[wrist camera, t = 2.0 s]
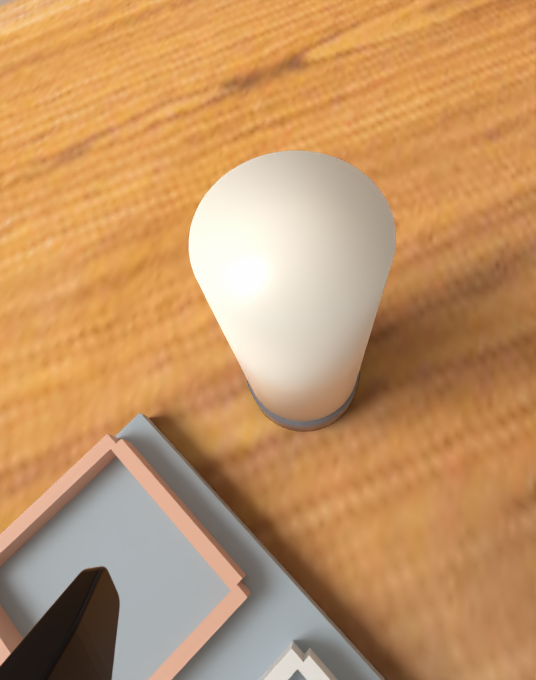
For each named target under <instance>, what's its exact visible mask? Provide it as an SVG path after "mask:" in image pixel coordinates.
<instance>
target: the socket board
mask: <svg viewBox="0 0 536 680" xmlns="http://www.w3.org/2000/svg"><path fill="white" fill-rule="evenodd" d="M99 566H104V567H106V568H107V569H108V571H109V573H110V576H111V578H112V580H113V583H114V585H115V587H116V590H117V592H118V595H119V599H120V610H119V619H118V628H117V637H116V646H115V655H114V664H113V673H112V680H385V679H384V677H383V676H382V675H381V674H380V673H379V672H378V671H377V670H376V669H375V667H374V666H373V665H372V664H371V663H370V662H369V661H368V660H367V659H366V658H365V656H364V655H363V654H362V653H361V652H360V651H359V650H358V649H357V648H356V646H355V645H354V644H353V643H352V642H351V641H350V640H349V639H348V638H347V637H346V635H345V634H344V633H343V632H342V631H341V630H340V629H339V628H338V627H337V625H336V624H335V623H334V622H333V621H332V620H331V619H330V618H329V617H328V616H327V614H326V613H325V612H324V611H323V610H322V609H321V608H320V607H319V606H318V604H317V603H316V602H315V601H314V600H313V599H312V598H311V597H310V596H309V595H308V593H307V592H306V591H305V590H304V589H303V588H302V587H301V586H300V585H299V583H298V582H297V581H296V580H295V579H294V578H293V577H292V576H291V575H290V574H289V572H288V571H287V570H286V569H285V568H284V567H283V566H282V565H281V564H280V562H279V561H278V560H277V559H276V558H275V557H274V556H273V555H272V554H271V553H270V551H269V550H268V549H267V548H266V547H265V546H264V545H263V544H262V543H261V541H260V540H259V539H258V538H257V537H256V536H255V535H254V534H253V533H252V532H251V530H250V529H249V528H248V527H247V526H246V525H245V524H244V523H243V522H242V520H241V519H240V518H239V517H238V516H237V515H236V514H235V513H234V512H233V511H232V509H231V508H230V507H229V506H228V505H227V504H226V503H225V502H224V501H223V499H222V498H221V497H220V496H219V495H218V494H217V493H216V492H215V491H214V490H213V488H212V487H211V486H210V485H209V484H208V483H207V482H206V481H205V480H204V478H203V477H202V476H201V475H200V474H199V473H198V472H197V471H196V470H195V469H194V467H193V466H192V465H191V464H190V463H189V462H188V461H187V460H186V459H185V457H184V456H183V455H182V454H181V453H180V452H179V451H178V450H177V449H176V448H175V446H174V445H173V444H172V443H171V442H170V441H169V440H168V439H167V438H166V436H165V435H164V434H163V433H162V432H161V431H160V430H159V429H158V428H157V427H156V425H155V424H154V423H153V422H152V421H151V420H150V419H149V418H148V417H147V416H145V415H143V414H141V413H139V414H138V415H137V416H136V417H135V418H134V419H133V420H132V421H131V422H130V423H129V424H127V425H126V426H125V427H124V428H123V429H122V430H121V431H120V432H119V433H118V434H117V435H116V436H115V437H114V436H112V435H109V434H107V435H105V436H104V437H103V438H102V439H101V440H100V441H99V442H98V443H97V444H96V445H95V446H94V447H93V448H92V449H91V450H90V451H88V452H87V453H86V454H85V455H84V456H83V457H82V458H81V459H80V460H79V461H78V462H77V463H76V464H75V465H74V466H72V467H71V468H70V469H69V470H68V471H67V472H66V473H65V474H64V475H63V476H62V477H61V478H60V479H59V480H58V481H56V482H55V483H54V484H53V485H52V486H51V487H50V488H49V489H48V490H47V491H46V492H45V493H44V494H43V495H42V496H41V497H39V498H38V499H37V500H36V501H35V502H34V503H33V504H32V505H31V506H30V507H29V508H28V509H27V510H26V511H25V512H23V513H22V514H21V515H20V516H19V517H18V518H17V519H16V520H15V521H14V522H13V523H12V524H11V525H10V526H9V527H8V528H6V529H5V530H4V531H3V532H2V533H1V534H0V665H1V664H2V663H3V662H4V661H5V660H6V658H7V657H8V656H9V655H10V654H11V653H12V651H13V650H14V649H15V648H16V647H17V646H18V644H19V643H20V642H21V641H22V640H23V639H24V637H25V636H26V635H27V634H28V633H29V631H30V630H31V629H32V628H33V627H34V626H35V624H36V623H37V622H38V621H39V620H40V619H41V617H42V616H43V615H44V614H45V613H46V612H47V610H48V609H49V608H50V607H51V606H52V605H53V603H54V602H55V601H56V600H57V599H58V598H59V596H60V595H61V594H62V593H63V592H64V591H65V589H66V588H67V587H68V586H69V585H70V584H71V582H72V581H73V580H74V579H75V578H76V577H77V575H78V574H79V573H80V572H81V571H83V570H84V569H87V568H93V567H99Z"/></svg>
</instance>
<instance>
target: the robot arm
mask: <svg viewBox="0 0 536 680" xmlns="http://www.w3.org/2000/svg"><path fill="white" fill-rule="evenodd" d="M119 610H120V599H119V595H118V592H117V590H116V587H115V585H114V583H113V580H112V578H111V576H110V573H109V571H108V569H107V568H106V567H104V566H99V567H93V568H87V569H84V570H83V571H81V572H80V573H79V574H78V575H77V577H76V578H75V579H74V580H73V581H72V582H71V584H70V585H69V586H68V587H67V588H66V589H65V591H64V592H63V593H62V594H61V595H60V596H59V598H58V599H57V600H56V601H55V602H54V603H53V605H52V606H51V607H50V608H49V609H48V610H47V612H46V613H45V614H44V615H43V616H42V617H41V619H40V620H39V621H38V622H37V623H36V624H35V626H34V627H33V628H32V629H31V630H30V631H29V633H28V634H27V635H26V636H25V637H24V639H23V640H22V641H21V642H20V643H19V644H18V646H17V647H16V648H15V649H14V650H13V651H12V653H11V654H10V655H9V656H8V657H7V658H6V660H5V661H4V662H3V663H2V664H1V665H0V680H112V673H113V664H114V655H115V646H116V637H117V628H118V619H119Z"/></svg>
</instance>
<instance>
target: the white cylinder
mask: <svg viewBox="0 0 536 680" xmlns="http://www.w3.org/2000/svg"><path fill="white" fill-rule="evenodd" d="M395 245H396V230H395V224H394V219H393V215H392V212H391V209H390V207H389V205H388V203H387V201H386V199H385V197H384V195H383V194H382V193H381V191H380V190H379V188H378V187H377V186H376V185H375V184H374V183H373V181H372V180H371V179H370V178H369V177H367V176H366V175H365V174H364V173H363V172H361V171H360V170H359V169H357V168H355V167H354V166H352V165H351V164H349V163H347V162H345V161H343V160H340V159H338V158H335V157H332V156H329V155H326V154H322V153H317V152H310V151H283V152H275V153H271V154H266V155H263V156H260V157H257V158H254V159H251V160H249V161H247V162H245V163H243V164H241V165H239V166H237V167H236V168H234V169H232V170H231V171H229V172H228V173H227V174H225V175H224V176H223V177H222V178H220V179H219V180H218V181H217V182H216V183H215V184H214V185H213V186H212V187H211V189H210V190H209V191H208V192H207V194H206V195H205V196H204V198H203V199H202V201H201V203H200V204H199V206H198V208H197V210H196V213H195V215H194V217H193V221H192V224H191V228H190V235H189V255H190V262H191V266H192V269H193V272H194V275H195V277H196V279H197V281H198V283H199V285H200V287H201V289H202V291H203V293H204V295H205V297H206V299H207V301H208V303H209V305H210V307H211V309H212V311H213V313H214V315H215V317H216V319H217V321H218V323H219V325H220V327H221V329H222V331H223V333H224V335H225V337H226V339H227V341H228V342H229V344H230V346H231V348H232V350H233V352H234V354H235V356H236V358H237V360H238V362H239V364H240V366H241V368H242V370H243V372H244V374H245V376H246V378H247V383H248V386H249V389H250V391H251V393H252V395H253V397H254V399H255V401H256V403H257V405H258V406H259V408H260V409H261V411H262V412H263V413H264V414H265V415H266V416H267V417H268V418H269V419H270V420H271V421H273V422H274V423H276V424H277V425H279V426H281V427H283V428H286V429H289V430H294V431H303V432H306V431H314V430H319V429H322V428H324V427H327V426H329V425H331V424H332V423H334V422H335V421H337V420H338V419H339V418H340V417H341V416H342V415H343V414H344V413H345V412H346V410H347V409H348V407H349V406H350V404H351V402H352V400H353V397H354V394H355V391H356V388H357V385H358V381H359V375H360V367H361V363H362V360H363V357H364V353H365V350H366V347H367V343H368V340H369V337H370V334H371V330H372V327H373V324H374V320H375V317H376V314H377V310H378V307H379V304H380V301H381V297H382V294H383V291H384V287H385V284H386V281H387V277H388V274H389V271H390V267H391V264H392V261H393V257H394V253H395Z"/></svg>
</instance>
